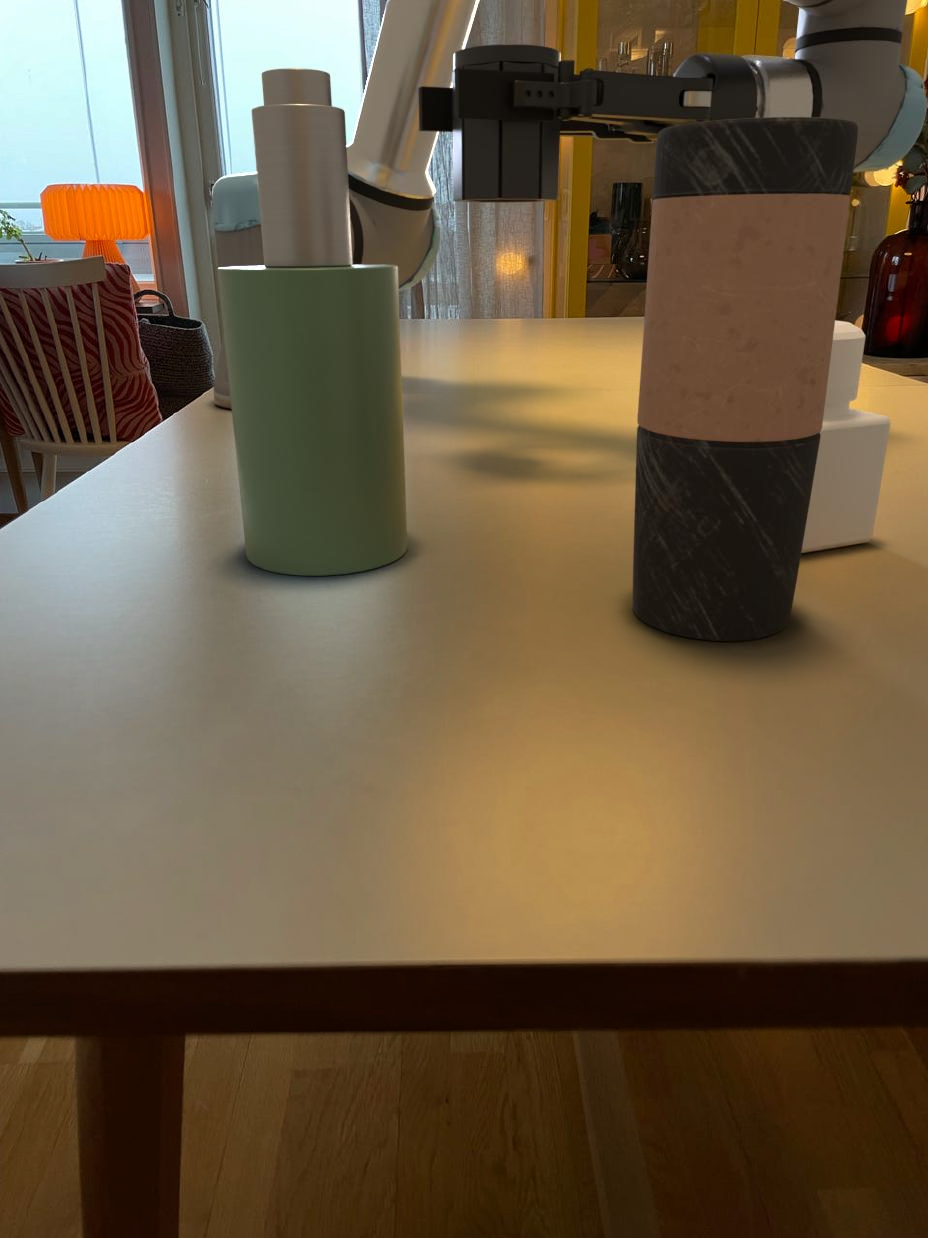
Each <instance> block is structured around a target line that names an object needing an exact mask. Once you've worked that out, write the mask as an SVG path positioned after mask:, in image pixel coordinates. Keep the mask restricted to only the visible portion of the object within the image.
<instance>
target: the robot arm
mask: <svg viewBox="0 0 928 1238" xmlns="http://www.w3.org/2000/svg"><path fill="white" fill-rule="evenodd" d="M782 1H783V2H784V3H786V4H788V5H791V6H794V7H796V8H798V17H797V18H798V19H797V29H796V30H797V31H796V38H795V47H794V53H795V55H794V58H792V57H786V56H784V57H783V56H771V55H758V54H746V55H742V56H741V55H738V54H730V53H729V54H727V53H714V52H713V53H712V52H697V53H694V54H691V55H689V56H688V57H687V58H685V59H684V60H683V61H682V62H681V63H680V65H679V66H678V67H677V68H676V71H675V72H674V73H673V75H656V74H644V73H643V74H642V73H633V72H622V71H621V72H619V71H611V70H610V71H608V70H598V69H597V70H596V69H594V68H592V67H588V68H587V67H586V68H585V69H583V70H580V71H579V74H577V73H575V65H576V60H574V59H573V60H572V59H570V60H569V59H564V60H561V61H559V62H558V82H554V73H539V72H520V71H502V70H483V69H465V68H458V69H456V70H455V119H481V120H509V121H538V122H550V121H553V110H557V118H560V138H561V137H564V138H565V137H566V138H567V137H568V138H595V140H598V141H627V142H628V143H630V144H653V143H654V141H657V137H658V134H659V132H660V131H661V130H663V129H665V128H668V127H672V126H677V125H683V124H689V123H697V122H705V121H715V120H728V119H743V118H765V117H819V118H835V119H844V120H849V121H853V122H855V123H856V124H857V126H858V138H857V146H856V154H855V162H854V171H853V173H864V172H865V173H867V172H869V173H870V172H880V171H882V170H885V169H888V168H891V167H892V166H894V165H896V164H897V163H899V161H901V160H902V159H903V158H904V157H905V156H906V155H907V154H908V153H909V152H910V151H911V149H912V148H913V146H914V145H915V144H916V141H917V140H918V138H919V136H920V134H921V133H922V129H923V127H924V123H925V121H926V115H927V112H928V111H927V110H928V97H926V94H925V91H924V90H925V89H924V87H925V83H924V80H923V77H922V76H921V75H920V74H919V72H918V71H916V70H915V69H914V68H911V67H910V66H907V65H905V64H903V63H900V60H901V53H902V38H903V30H904V26H905V25H904V24H905V18H906V12H907V5H908V0H782ZM479 3H480V0H387V1H386V4H385V9H384V14H383V17H382V21H381V25H380V30H379V33H378V37H377V41H376V46H375V49H374V54H373V57H372V61H371V64H370V65H371V66H370V69H369V73H368V77H367V80H366V85H365V89H364V93H363V97H362V102H361V106H360V109H359V113H358V116H357V117H358V118H357V122H356V125H355V129H354V133H353V137H352V141H350V142H349V143H348V144H346V146H347V165H348V185H349V205H350V225H351V244H352V265H396V266H398V284H399V292H401V291H405V290H408V289H410V288H412V287H414V286H416V285H417V284H419V283H421V281H422V280H423V279H424V278H425V277H426V276H427V275H428V274H429V272H430V271H431V270H432V268H433V265H434V264H435V263H436V260H437V257H438V254H439V250H440V247H441V240H442V227H441V226H440V225H439V223H438V221H439V220H440V216H439V215H440V214H439V212H438V209H437V207H436V205H435V203H434V199H435V196H436V193H437V188H436V186H435V184H434V181H433V180H432V178H431V175H430V171H429V168H430V166H431V165H430V164H431V161H432V159H433V155H434V152H435V148H436V145H437V143H438V142H437V141H438V138H439V135H440V133H453V118H452V73H453V72H454V69H453V55H454V53H455V52H457V51H459V50H462V49H465V48H466V46H467V42H468V40H469V35H470V32H471V29H472V26H473V22H474V19H475V16H476V12H477V9H478V5H479ZM211 200H212V201H211V202H212V220H211V227H212V228H213V230H214V238H215V247H216V257H217V269H218V268H222V267H239V266H265V265H264V254H263V242H262V231H261V219H260V207H259V195H258V183H257V171H251V172H243V173H234V174H228V175H225V176H222V177H219V179H218V180H217V181H215V183H214V185H213V186H212V191H211ZM222 335H223V336H222V340H221V345H220V350H219V353H218V354H219V355H218V360H217V364H216V369H215V374H214V379H213V389H212V390H213V402H214V404H215V405H217V406H219V407H221V408H225V409H231V410H232V408H231V399H230V389H229V379H228V369H227V359H226V349H225V339H224V334H222Z"/></svg>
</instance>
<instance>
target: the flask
mask: <svg viewBox="0 0 928 1238" xmlns="http://www.w3.org/2000/svg"><path fill="white" fill-rule="evenodd" d="M331 83H332V82H331V74H330V73H329V72H326V71H324V70H319V69H313V68H300V67H297V68H296V67H295V68H294V67H289V68H288V67H287V68H286V67H285V68H274V69H268V70H264V71H262V72H261V85H262V86H261V87H262V98H263V100H262V101H263V105H259V106H256V107H253V108H252V109H251V120H252V121H251V122H252V123H251V124H252V135H253V145H254V158H255V170H256V171H255V172H257V183H258V195H259V207H260V219H261V231H262V242H263V254H264V265H265V266H239V267H222V268H218V267H217V277H218V278H217V279H218V290H219V299H220V308H221V319H222V328H223V335H224V339H225V349H226V359H227V369H228V379H229V389H230V399H231V408H232V409H231V408H230V409H231V418H232V427H233V428H232V429H233V437H234V447H235V448H234V449H235V456H236V457H235V459H236V466H237V476H238V485H239V496H240V505H241V515H242V527H243V535H244V544H245V545H244V546H245V554H246V558H247V560H248V562H250V563H251V565H253V566H254V567H257V568H259V569H261V570H264V571H268V572H273V573H277V574H282V575H291V576H304V577H324V576H325V577H326V576H339V575H347V574H354V573H360V572H361V573H362V572H365V571H369V570H374V569H377V568H380V567H383V566H386V565H389V564H391V563H393V562H396V561H397V560H399V559H400V558H401V557H403V556H404V555H405V554H406V552H407V550H408V528H407V527H408V526H407V525H408V524H407V523H408V521H407V497H406V465H405V440H404V439H405V437H404V436H405V435H404V433H405V432H404V409H403V408H404V405H403V378H402V377H403V376H402V375H403V374H402V349H401V348H402V347H401V316H400V291H399V284H398V266H396V265H352V244H351V225H350V205H349V185H348V165H347V127H346V111H345V110H344V109H343V108H341V107H338V106H333V103H332V101H333V100H332V99H333V98H332V84H331Z"/></svg>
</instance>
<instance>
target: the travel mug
mask: <svg viewBox="0 0 928 1238" xmlns="http://www.w3.org/2000/svg"><path fill="white" fill-rule="evenodd" d="M857 138H858V126H857V124H856V123H855V122H853V121H849V120H844V119H835V118H819V117H765V118H743V119H728V120H715V121H705V122H697V123H689V124H683V125H677V126H672V127H668V128H665V129H663V130H661V131H660V132H659V134H658V137H657V140H656V146H655V158H654V160H655V161H654V172H653V173H654V176H653V189H652V190H653V191H652V198H653V200H652V203H651V218H650V232H649V246H648V247H649V248H648V259H647V260H648V262H647V273H646V274H647V276H646V277H647V278H646V289H645V306H644V319H643V335H642V345H641V347H642V348H641V360H640V361H641V362H640V363H641V364H640V377H639V390H638V391H639V392H638V405H637V406H638V407H637V420H636V421H637V425H638V426H637V427H636V449H635V451H636V452H635V482H634V483H635V487H634V488H635V489H634V521H633V523H634V525H633V555H632V556H633V557H632V559H633V560H632V608H633V611H634V613H635V615H636V616H637V618H638V619H640V620H641V621H642V622H643V623H645V624H647V625H649V626H651V627H653V628H654V629H657V630H660V631H662V632H665V633H669V634H672V635H675V636H679V637H683V638H684V637H685V638H690V639H697V640H704V641H715V642H737V641H738V642H739V641H749V640H757V639H762V638H767V637H769V636H772V635H775V634H777V633H779V632H781V631H783V629H785V628H786V627H787V625H788V624H789V621H790V618H791V613H792V609H793V605H794V604H793V603H794V599H795V593H796V588H797V582H798V575H799V570H800V562H801V558H802V557H801V556H802V553H801V552H802V546H803V540H804V534H805V528H806V522H807V515H808V509H809V503H810V497H811V491H812V485H813V479H814V473H815V467H816V461H817V455H818V449H819V443H820V437H821V435H820V431H821V429H822V423H823V415H824V407H825V399H826V391H827V383H828V374H829V366H830V358H831V350H832V342H833V334H834V325H835V320H836V317H837V308H838V301H839V291H840V284H841V277H842V269H843V268H842V266H843V259H844V251H845V242H846V236H847V235H846V234H847V227H848V220H849V219H848V218H849V210H850V202H851V195H850V194H851V193H852V188H853V187H852V185H853V178H854V172H853V171H854V162H855V154H856V146H857Z"/></svg>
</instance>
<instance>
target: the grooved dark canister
mask: <svg viewBox="0 0 928 1238" xmlns="http://www.w3.org/2000/svg"><path fill="white" fill-rule="evenodd" d="M561 57H562V54H561V51H559V49H556V48H554V47H549V46H544V45H537V44H524V43H523V44H521V43H506V44H505V43H498V44H485V45H484V44H483V45H477V46H469V47H465V49H462V50H459V51H457V52H455V53H454V55H453V69H454V72H453V73H452V118H453V132H452V196H453V197H452V198H453V199H452V201H453V202H456V203H476V204H477V203H478V204H479V203H480V204H481V203H482V204H487V203H488V204H489V203H491V204H495V203H497V204H503V203H504V204H508V203H509V204H510V203H511V204H512V203H513V204H516V203H545V202H546V203H547V202H555V201H558V200H559V184H560V183H559V182H560V181H559V179H560V146H561V137H560V118H557V110H553V121H550V122H538V121H509V120H481V119H455V70H456V69H458V68H465V69H483V70H502V71H520V72H539V73H554V82H558V62H559V61H562V59H561Z"/></svg>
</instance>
